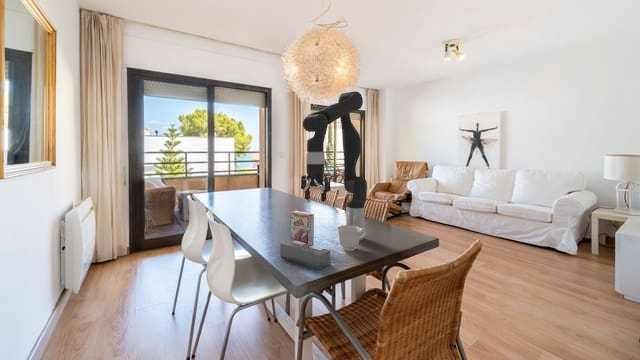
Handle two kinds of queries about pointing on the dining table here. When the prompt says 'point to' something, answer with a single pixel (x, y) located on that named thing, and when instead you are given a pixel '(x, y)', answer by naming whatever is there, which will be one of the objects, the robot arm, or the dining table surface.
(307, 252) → the box
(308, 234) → the candy bar box
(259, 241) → the dining table surface
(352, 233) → the teacup
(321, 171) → the robot arm
